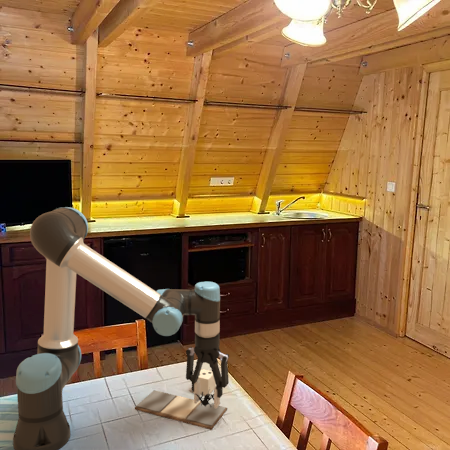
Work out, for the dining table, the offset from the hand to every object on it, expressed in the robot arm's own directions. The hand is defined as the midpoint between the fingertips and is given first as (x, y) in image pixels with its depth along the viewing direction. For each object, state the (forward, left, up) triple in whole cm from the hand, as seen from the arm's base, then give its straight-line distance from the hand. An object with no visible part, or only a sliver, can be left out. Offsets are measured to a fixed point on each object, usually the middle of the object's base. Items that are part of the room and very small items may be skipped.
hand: (206, 403), depth 146 cm
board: (-9, 0, -4) cm, 10 cm away
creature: (0, +1, -1) cm, 1 cm away
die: (-8, +14, -4) cm, 16 cm away
